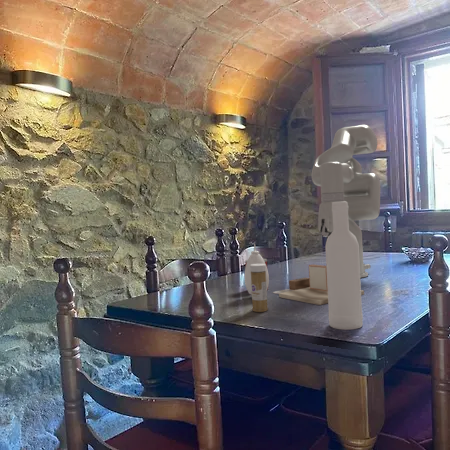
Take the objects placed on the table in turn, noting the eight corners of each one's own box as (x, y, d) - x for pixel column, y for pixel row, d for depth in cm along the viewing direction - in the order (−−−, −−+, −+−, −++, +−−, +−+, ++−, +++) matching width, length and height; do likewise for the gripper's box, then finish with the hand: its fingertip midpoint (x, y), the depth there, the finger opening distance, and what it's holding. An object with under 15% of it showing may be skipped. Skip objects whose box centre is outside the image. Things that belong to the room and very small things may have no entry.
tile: (314, 287, 154) (312, 264, 153) (331, 290, 147) (330, 266, 147) (309, 288, 152) (308, 265, 152) (327, 291, 146) (326, 266, 145)
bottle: (353, 331, 104) (347, 201, 103) (323, 327, 109) (316, 203, 108) (368, 323, 110) (362, 200, 108) (338, 319, 115) (332, 202, 114)
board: (322, 287, 159) (322, 284, 159) (364, 294, 144) (363, 290, 144) (279, 297, 147) (279, 293, 147) (319, 305, 133) (319, 301, 133)
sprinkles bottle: (249, 311, 130) (246, 265, 129) (258, 308, 133) (255, 262, 133) (262, 313, 127) (259, 265, 126) (271, 309, 130) (268, 263, 130)
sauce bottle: (253, 301, 143) (250, 244, 143) (241, 297, 150) (238, 243, 150) (274, 297, 147) (271, 242, 146) (261, 294, 154) (258, 241, 153)
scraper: (304, 286, 163) (303, 277, 163) (314, 288, 159) (313, 278, 159) (272, 293, 155) (271, 283, 155) (282, 295, 151) (281, 284, 151)
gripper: (339, 199, 160) (341, 250, 160) (308, 200, 152) (311, 254, 152) (356, 197, 154) (358, 251, 154) (325, 198, 146) (328, 255, 146)
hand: (335, 252), depth 153 cm, fingers closed
